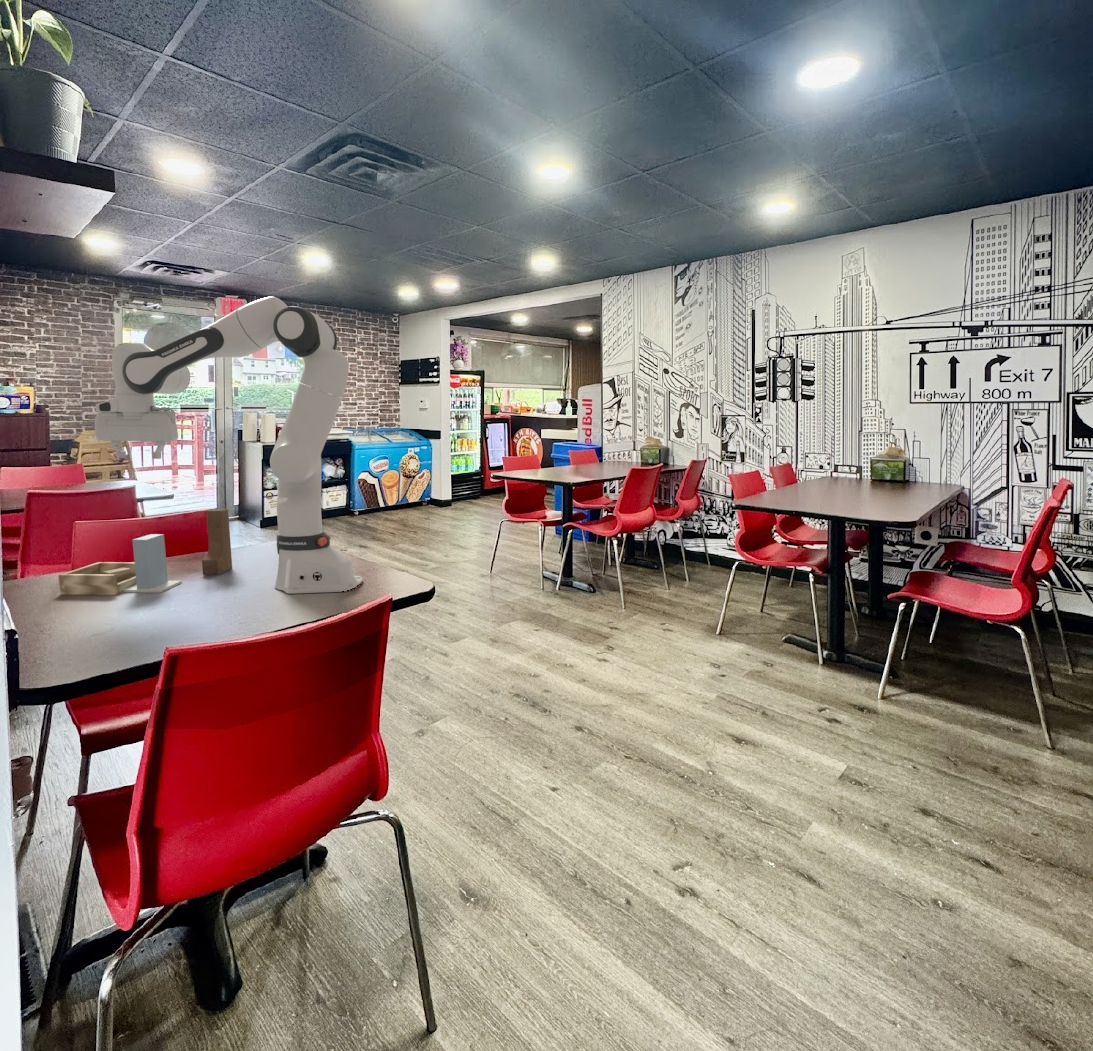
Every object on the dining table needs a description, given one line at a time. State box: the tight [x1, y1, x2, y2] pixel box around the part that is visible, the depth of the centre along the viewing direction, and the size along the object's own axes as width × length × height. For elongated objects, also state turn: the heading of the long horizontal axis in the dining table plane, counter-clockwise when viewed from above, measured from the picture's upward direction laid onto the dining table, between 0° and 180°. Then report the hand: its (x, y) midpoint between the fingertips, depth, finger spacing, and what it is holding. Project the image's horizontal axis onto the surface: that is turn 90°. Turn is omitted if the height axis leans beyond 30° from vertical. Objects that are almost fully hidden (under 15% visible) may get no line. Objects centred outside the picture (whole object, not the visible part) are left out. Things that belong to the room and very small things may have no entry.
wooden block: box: [201, 508, 233, 576], centre depth 193 cm, size 9×4×18 cm, turn 0°
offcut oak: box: [103, 567, 131, 581], centre depth 177 cm, size 3×6×2 cm, turn 154°
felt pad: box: [122, 580, 182, 594], centre depth 177 cm, size 10×10×1 cm
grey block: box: [132, 533, 169, 589], centre depth 176 cm, size 4×8×13 cm, turn 0°
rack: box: [57, 561, 137, 596], centre depth 177 cm, size 14×15×5 cm
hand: (139, 458), depth 179 cm, fingers open, 8 cm apart
